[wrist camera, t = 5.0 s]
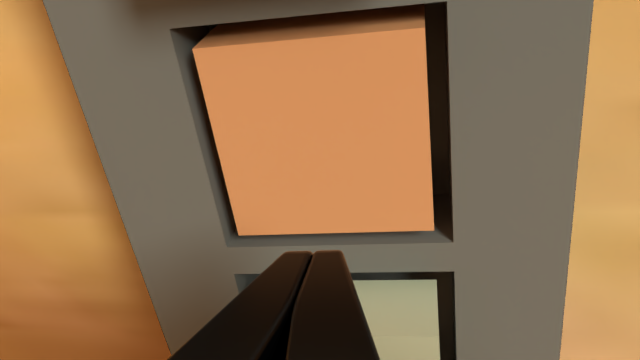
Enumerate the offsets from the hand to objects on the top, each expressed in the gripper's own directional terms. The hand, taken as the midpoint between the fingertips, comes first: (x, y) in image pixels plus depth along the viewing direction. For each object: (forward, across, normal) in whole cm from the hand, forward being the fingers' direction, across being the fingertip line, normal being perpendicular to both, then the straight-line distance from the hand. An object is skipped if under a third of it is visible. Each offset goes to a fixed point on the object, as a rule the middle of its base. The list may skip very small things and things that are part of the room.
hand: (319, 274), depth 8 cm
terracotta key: (+6, +1, 0) cm, 6 cm away
